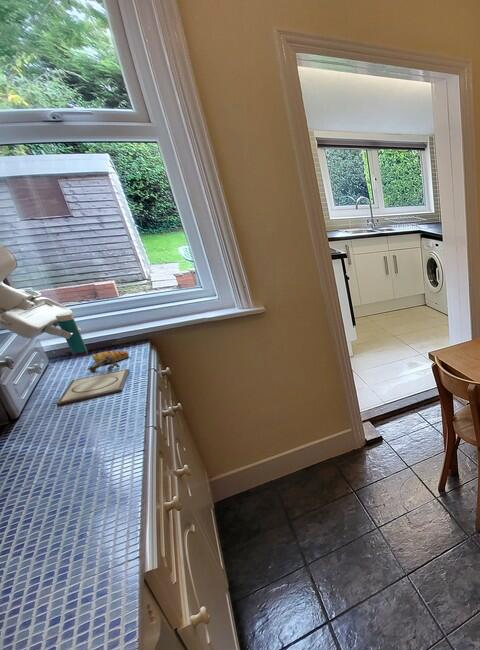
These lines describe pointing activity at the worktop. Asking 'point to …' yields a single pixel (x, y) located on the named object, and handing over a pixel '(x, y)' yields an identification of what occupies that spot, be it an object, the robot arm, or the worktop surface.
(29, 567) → the worktop surface
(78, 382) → the drawing board
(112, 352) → the pastry
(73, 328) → the dot marker
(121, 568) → the worktop surface
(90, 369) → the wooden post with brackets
